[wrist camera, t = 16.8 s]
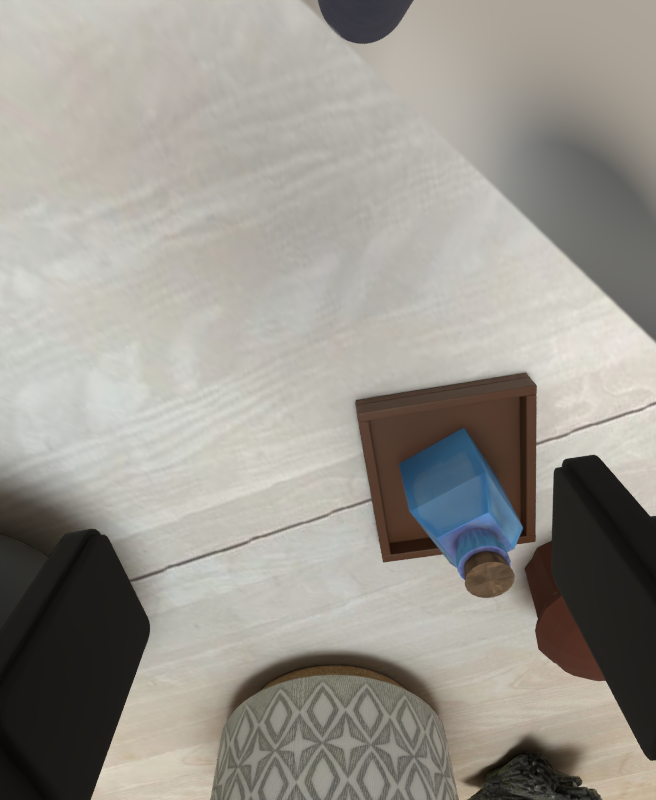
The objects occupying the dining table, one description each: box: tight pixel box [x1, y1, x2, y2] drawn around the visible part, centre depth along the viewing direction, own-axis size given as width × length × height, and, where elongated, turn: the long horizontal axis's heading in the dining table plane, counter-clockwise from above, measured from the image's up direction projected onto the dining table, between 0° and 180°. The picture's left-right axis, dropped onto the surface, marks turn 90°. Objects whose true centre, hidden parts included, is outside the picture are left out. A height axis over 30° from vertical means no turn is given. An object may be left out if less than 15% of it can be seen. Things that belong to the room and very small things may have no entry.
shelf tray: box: [356, 373, 537, 562], centre depth 43 cm, size 16×14×2 cm
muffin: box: [525, 541, 606, 681], centre depth 45 cm, size 12×11×10 cm
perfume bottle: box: [399, 428, 523, 598], centre depth 38 cm, size 6×6×12 cm
